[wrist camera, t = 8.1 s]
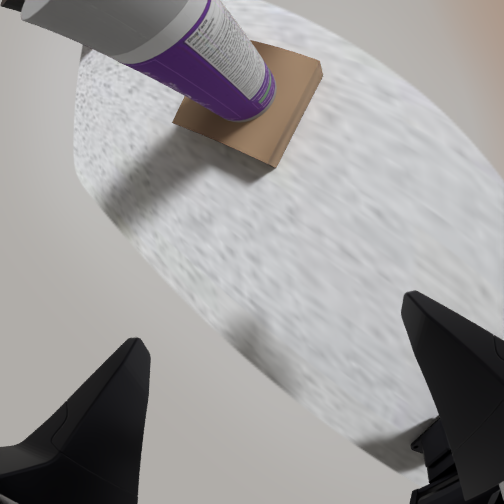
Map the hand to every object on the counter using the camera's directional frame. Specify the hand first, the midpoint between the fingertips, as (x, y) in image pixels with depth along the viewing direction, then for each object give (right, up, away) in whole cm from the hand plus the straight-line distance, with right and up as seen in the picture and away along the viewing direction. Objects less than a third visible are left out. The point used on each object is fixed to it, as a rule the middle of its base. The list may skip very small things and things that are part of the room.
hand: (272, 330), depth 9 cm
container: (-1, +13, +8) cm, 16 cm away
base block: (-1, +14, +11) cm, 17 cm away
